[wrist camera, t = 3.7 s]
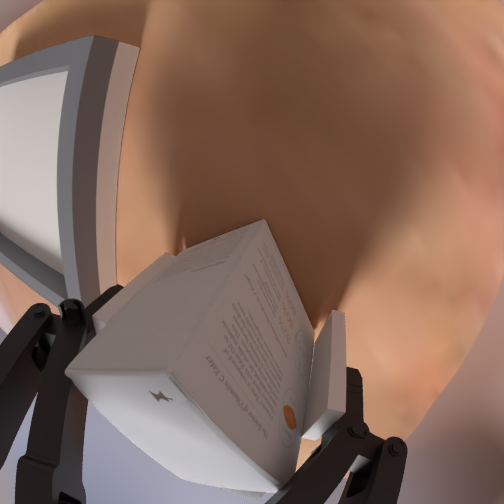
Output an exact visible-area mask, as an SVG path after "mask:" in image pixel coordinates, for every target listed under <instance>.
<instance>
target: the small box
mask: <svg viewBox="0 0 504 504" xmlns="http://www.w3.org/2000/svg"><path fill="white" fill-rule="evenodd" d="M314 336H315V332H314V329H313V327H312V325H311V323H310V320H309V318H308V316H307V313H306V311H305V309H304V306H303V304H302V302H301V299H300V297H299V295H298V292H297V290H296V288H295V285H294V283H293V281H292V279H291V276H290V274H289V272H288V269H287V267H286V265H285V263H284V260H283V258H282V256H281V254H280V252H279V249H278V247H277V245H276V242H275V240H274V238H273V236H272V234H271V231H270V229H269V227H268V224H267V222H266V220H265V219H262V220H259V221H257V222H254V223H252V224H249V225H246V226H243V227H241V228H238V229H236V230H233V231H230V232H228V233H225V234H222V235H220V236H217V237H215V238H212V239H209V240H207V241H204V242H202V243H199V244H197V245H194V246H192V247H189V248H187V249H184V250H182V251H181V252H180V253H179V254H178V255H177V256H176V257H175V258H174V259H173V260H172V261H171V262H169V263H168V264H167V265H166V266H165V267H164V268H163V269H162V270H161V271H160V272H159V273H158V274H157V275H156V276H155V277H154V278H153V279H152V280H150V281H149V282H148V283H147V284H146V285H145V286H144V287H143V288H142V289H141V290H140V291H139V292H138V293H137V294H136V295H135V296H134V297H133V298H132V299H131V300H130V301H129V302H128V303H127V304H126V305H125V306H124V307H123V308H122V309H121V310H120V311H119V312H118V313H117V314H116V315H115V316H114V317H113V318H112V319H111V321H110V322H109V323H107V324H106V325H105V326H104V327H103V328H102V329H101V330H100V332H99V333H98V334H97V335H96V336H95V337H94V338H93V339H92V340H91V341H90V342H89V343H88V344H87V345H86V346H85V348H84V349H83V350H82V351H81V352H80V353H79V354H78V355H77V356H76V357H75V358H74V360H73V361H72V362H71V363H70V364H69V365H68V367H67V368H66V370H65V375H66V376H67V377H69V378H70V379H71V380H72V381H73V383H74V385H75V386H76V387H77V388H78V389H79V391H80V392H81V393H82V394H83V395H84V396H85V397H86V398H87V399H88V400H89V401H90V402H91V403H92V404H93V405H94V406H95V408H96V409H97V410H98V411H99V412H100V413H101V414H102V415H103V416H104V417H105V418H106V419H107V420H108V421H109V422H110V423H111V424H113V425H114V426H115V427H116V428H117V429H118V430H119V431H120V432H121V433H122V434H124V435H125V436H126V437H127V438H128V439H129V440H131V441H132V442H133V443H134V444H135V445H137V446H138V447H139V448H140V449H141V450H143V451H144V452H145V453H146V454H148V455H149V456H150V457H152V458H153V459H154V460H156V461H157V462H158V463H160V464H161V465H163V466H164V467H165V468H167V469H168V470H169V471H171V472H172V473H174V474H175V475H177V476H178V477H180V478H181V479H184V480H187V481H192V482H195V483H200V484H205V485H211V486H217V487H223V488H229V489H236V490H244V491H254V492H267V493H268V492H269V493H276V492H277V491H279V490H280V489H282V488H283V487H284V486H285V485H286V483H287V482H288V481H289V480H290V479H291V477H292V476H293V475H294V474H295V470H296V465H297V459H298V454H299V449H300V443H301V437H302V431H303V426H304V419H305V412H306V405H307V398H308V391H309V382H310V374H311V365H312V357H313V347H314Z"/></svg>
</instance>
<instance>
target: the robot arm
mask: <svg viewBox="0 0 504 504" xmlns="http://www.w3.org/2000/svg"><path fill="white" fill-rule="evenodd" d="M175 257H176V256H174V255H172V254H169V253H166V252H165V253H164V254H163V255H162V256H161V257H159V258H158V259H157V260H156V261H154V262H153V263H152V264H151V265H150V266H148V267H147V268H146V269H145V270H144V271H143V272H141V273H140V274H139V275H138V276H137V277H135V278H134V279H133V280H132V281H131V282H130V283H129V284H127V285H126V286H125V287H123V286H121V285H119V284H117V285H115V286H112V287H110V288H108V289H107V290H106V291H105V292H103V294H101V295H100V296H99V297H98V298H96V299H95V300H94V301H93V302H92V303H90V304H89V305H88V306H87V307H86V308H84V305H83V303H82V302H81V301H80V300H78V299H66V300H64V301H62V302H61V303H60V304H59V305H58V308H59V312H60V315H56V314H53V313H51V309H50V307H49V306H48V305H47V304H44V303H37V304H34V305H32V306H31V307H30V308H29V309H28V310H27V312H26V313H25V314H24V315H23V316H22V318H21V319H20V320H19V321H18V323H17V324H16V325H15V326H14V328H13V329H12V330H11V331H10V333H9V334H8V335H7V337H6V338H5V339H4V340H3V342H2V343H1V345H0V469H1V468H2V466H3V465H4V462H5V460H6V458H7V456H8V453H9V451H10V448H11V446H12V443H13V441H14V439H15V437H16V435H17V432H18V430H19V428H20V426H21V424H22V422H23V420H24V417H25V415H26V413H27V411H28V409H29V407H30V406H31V403H32V402H33V400H34V398H35V396H36V394H37V392H38V394H37V398H36V403H35V407H34V412H33V416H32V421H31V427H30V432H29V438H28V444H27V451H26V454H25V455H24V456H22V457H20V459H19V460H18V464H17V472H16V485H15V486H16V487H15V504H86V493H85V489H84V486H83V483H82V462H83V445H84V431H85V422H86V414H87V406H88V399H87V398H86V397H85V396H84V395H83V394H82V393H81V392H80V391H79V389H78V388H77V387H76V386H75V385H74V383H73V381H72V380H71V379H70V378H69V377H67V376H66V375H65V370H66V368H67V367H68V365H69V364H70V363H71V362H72V361H73V360H74V358H75V357H76V356H77V355H78V354H79V353H80V352H81V351H82V350H83V349H84V348H85V346H86V345H87V344H88V343H89V342H90V341H91V340H92V339H93V338H94V337H95V336H96V335H97V334H98V333H99V332H100V330H101V329H102V328H103V327H104V326H105V325H106V324H107V323H109V322H110V321H111V319H112V318H113V317H114V316H115V315H116V314H117V313H118V312H119V311H120V310H121V309H122V308H123V307H124V306H125V305H126V304H127V303H128V302H129V301H130V300H131V299H132V298H133V297H134V296H135V295H136V294H137V293H138V292H139V291H140V290H141V289H142V288H143V287H144V286H145V285H146V284H147V283H148V282H149V281H150V280H152V279H153V278H154V277H155V276H156V275H157V274H158V273H159V272H160V271H161V270H162V269H163V268H164V267H165V266H166V265H167V264H168V263H169V262H171V261H172V260H173V259H174V258H175ZM362 387H363V384H362V377H361V374H360V372H359V370H358V369H354V368H350V367H346V332H345V313H343V312H340V311H337V310H334V309H332V310H331V312H330V314H329V316H328V318H327V320H326V322H325V324H324V326H323V328H322V330H321V332H320V334H319V336H318V338H317V340H316V342H315V344H314V353H313V362H312V370H311V377H310V385H309V392H308V399H307V405H306V412H305V419H304V426H303V431H302V437H301V438H306V439H310V440H315V441H317V440H318V439H319V438H320V437H321V436H322V441H321V444H320V445H319V446H318V447H317V448H316V449H315V450H313V451H312V452H311V453H312V454H311V456H310V457H309V458H308V459H307V460H306V461H305V463H304V464H303V465H302V466H301V467H300V468H299V469H298V470H297V471H296V473H295V474H294V475H293V476H292V477H291V479H290V480H289V481H288V482H287V483H286V485H285V486H284V487H283V488H282V489H280V490H279V491H277V492H276V493H275V494H274V496H272V497H271V498H270V499H269V500H268V501H267V502H266V503H265V504H324V503H325V502H326V500H327V499H328V498H329V496H330V495H331V494H332V492H333V491H334V490H335V488H336V487H337V486H338V484H339V483H340V482H341V480H342V479H343V477H344V476H345V474H346V473H347V472H348V470H349V471H350V474H349V477H348V480H347V482H346V485H345V488H344V490H343V493H342V495H341V498H340V500H339V503H338V504H397V499H398V496H399V492H400V488H401V483H402V479H403V474H404V469H405V463H406V458H407V446H406V444H405V442H404V441H403V440H402V439H400V438H398V437H390V438H388V439H387V440H384V439H382V438H380V437H377V436H375V435H373V434H372V433H370V432H369V428H368V426H367V424H366V423H365V422H364V420H363V395H362V394H363V388H362Z"/></svg>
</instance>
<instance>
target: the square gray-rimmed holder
mask: <svg viewBox="0 0 504 504" xmlns="http://www.w3.org/2000/svg"><path fill="white" fill-rule="evenodd" d="M139 50H140V48H139V47H136V46H133V45H130V44H126V43H123V42H120V41H116V40H112V39H109V38H105V37H101V36H96V35H92V36H88V37H83V38H79V39H75V40H72V41H68V42H65V43H61V44H58V45H55V46H51V47H48V48H45V49H42V50H40V51H37V52H34V53H31V54H29V55H26V56H24V57H21V58H19V59H16V60H14V61H12V62H9V63H7V64H5V65H3V66H1V67H0V263H1V264H2V265H3V266H5V267H6V268H7V269H8V270H9V271H10V272H12V273H13V274H14V275H15V276H16V277H18V278H19V279H20V280H21V281H23V282H24V283H25V284H26V285H28V286H29V287H30V288H31V289H33V290H34V291H35V292H37V293H38V294H39V295H41V296H42V297H43V298H45V299H46V300H48V301H49V302H50V303H52V304H53V305H55V306H56V307H57V308H58V305H59V304H60V303H61V302H62V301H64V300H66V299H78V300H80V301H81V302H82V303H83V305H84V308H86V307H87V306H88V305H89V304H90V303H92V302H93V301H94V300H95V299H96V298H98V297H99V296H100V295H101V294H103V292H105V291H106V290H107V289H108V288H110V287H112V286H115V285H117V280H116V245H115V233H116V199H117V183H118V170H119V160H120V151H121V142H122V135H123V128H124V121H125V115H126V109H127V104H128V98H129V93H130V88H131V83H132V79H133V74H134V70H135V66H136V62H137V58H138V54H139Z"/></svg>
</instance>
